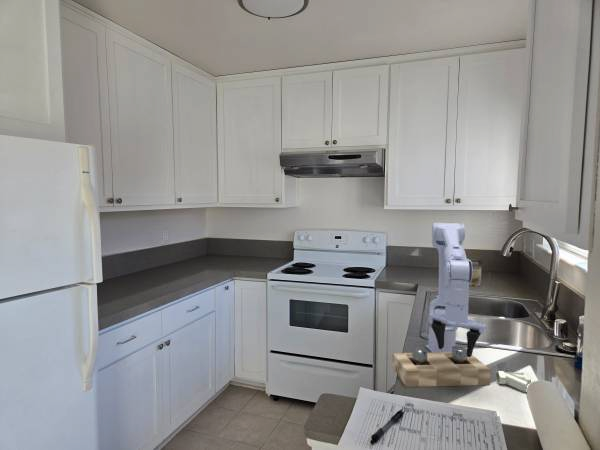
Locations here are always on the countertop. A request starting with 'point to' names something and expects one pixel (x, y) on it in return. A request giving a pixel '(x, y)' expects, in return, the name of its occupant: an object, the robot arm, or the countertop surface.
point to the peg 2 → (459, 355)
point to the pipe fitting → (514, 379)
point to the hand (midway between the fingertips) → (454, 351)
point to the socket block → (440, 371)
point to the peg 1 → (419, 356)
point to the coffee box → (476, 272)
